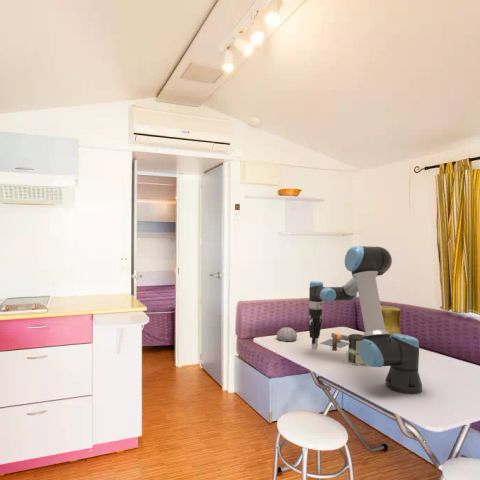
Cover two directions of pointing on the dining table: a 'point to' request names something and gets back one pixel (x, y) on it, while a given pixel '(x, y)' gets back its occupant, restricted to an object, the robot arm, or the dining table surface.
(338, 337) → the ball
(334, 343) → the right post
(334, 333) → the wall
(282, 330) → the sea urchin shell
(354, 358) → the coffee can
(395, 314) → the pitcher
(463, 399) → the dining table surface
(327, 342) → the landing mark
